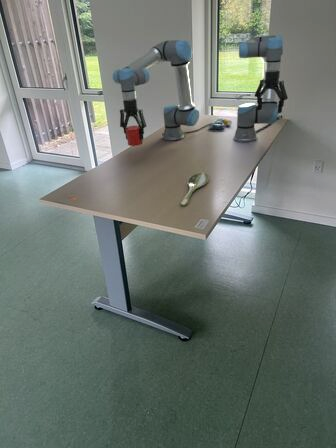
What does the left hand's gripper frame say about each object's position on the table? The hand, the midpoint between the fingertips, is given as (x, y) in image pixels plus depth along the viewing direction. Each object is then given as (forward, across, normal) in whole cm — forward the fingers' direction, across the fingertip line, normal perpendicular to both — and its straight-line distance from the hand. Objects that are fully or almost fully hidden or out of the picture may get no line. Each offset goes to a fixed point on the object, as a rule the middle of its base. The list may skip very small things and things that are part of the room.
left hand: (134, 139), depth 197 cm
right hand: (-10, +71, +32) cm, 79 cm away
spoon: (+17, +45, -24) cm, 53 cm away
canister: (+3, 0, 0) cm, 3 cm away
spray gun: (+17, +27, +90) cm, 95 cm away
